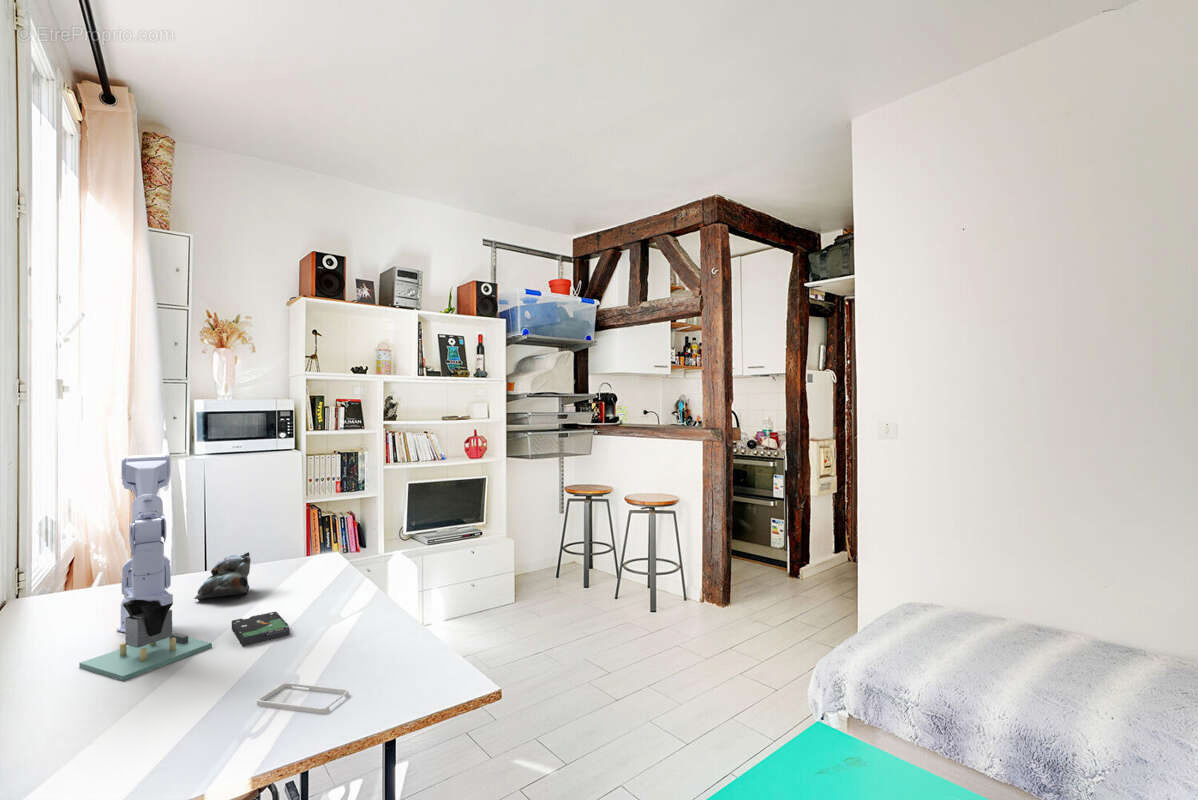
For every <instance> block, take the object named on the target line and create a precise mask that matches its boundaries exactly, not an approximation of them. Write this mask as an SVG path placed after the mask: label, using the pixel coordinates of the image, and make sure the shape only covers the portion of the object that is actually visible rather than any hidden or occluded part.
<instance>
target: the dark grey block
mask: <svg viewBox="0 0 1198 800" xmlns="http://www.w3.org/2000/svg"><path fill="white" fill-rule="evenodd" d="M124 633H125V638H124V639H125V642H124V643H125V645H127V647H128V646H132V647H136V648H139V647H142V646H145V645H148V644H151V643H154V642H157V641H159V640H162V639H165V638H168V637H171V636H172V633H173V610H172V609H171V608H170V609H169V611H168V613H167V615H166V617H165V620H164V624H163V627H162V631H161V633H160V634H157V635H154V636H149V634H148V629H147V621H146V618H145V615H144V613H139V614H136V615H133V616H129V617H126V618H125V632H124Z"/></svg>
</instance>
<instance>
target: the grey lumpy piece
mask: <svg viewBox="0 0 1198 800" xmlns="http://www.w3.org/2000/svg"><path fill="white" fill-rule="evenodd" d="M251 561H252V559H251V557H250V552H246V553H244V554H243V555H241V554H233V555H232V554H231V555H229V556H225V557H224V559H222V560H219V561H218V562H217V563H216V564H215V565H214V566H213V568H212V569H211V570H210V573H211V575H210V576H208V578H207V579H206V580H204V582H203V583H202V585H200V587H199V588H198V590H197V595H195V597H193V598H194V599H195V600H198V601H199V602H200V600H204V599H208V598H213V597H223V596H235V595H237V596H248V594H249V591H250V585H249V580H248V576H249V574H250V571H251V570H250V569H251Z"/></svg>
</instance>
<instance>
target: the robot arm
mask: <svg viewBox="0 0 1198 800" xmlns="http://www.w3.org/2000/svg"><path fill="white" fill-rule="evenodd" d="M170 476H171V455H170V454H168V453H164V454H150V455H149V454H147V455H146V454H144V455H130V456H129V455H128V456H127V455H124V456H123V457H121V480H122V481H121V483H122V486H123V489H126V490H129V491H132V493H133V495H134V498H135V499H133V501H132V503H131V522H130V524H129V536H128V537H129V545H130V551H131V552H130V555H131V557H130V559H128V560H127V561H125V562H124V563H123V565H122V572H121V594H122V595H123V599H122V600H121V603H120V626H119V627H117V628H116V631H117V632H121V633H125V618H126V617H129V616H133V615H136V614H139V613H144V615H145V618H146V621H147V629H148V634H149V636H154V635H157V634H160V633H161V631H162V627H163V624H164V620H165V617H166V615H167V613H168V611H169V609H170V610H171V607H172V606H173V605H174V598H173V596H174V595H173V593H172V594H171V593H170V592H169V591H168V590H169V588H170V587H171V585H172V584H171V583H172V582H171V580H172V579H171V577H172V572H171V565H170V564H171V563H170V562H171V561H170V559H169V557H167V556H165V554H164V553H165V542H166V539H167V521H166V518H165V514H164V508H163V507H164V506H163V500H162V498H161V497H160V496H159V495H158V493H159V490H160V489H162V488H164V487H167V486H168V483H169V482H170ZM162 538H163V541H162ZM167 589H168V590H167Z"/></svg>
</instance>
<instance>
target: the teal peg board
mask: <svg viewBox="0 0 1198 800" xmlns="http://www.w3.org/2000/svg"><path fill="white" fill-rule="evenodd" d="M212 647H213V643H212V642H210V641H205V640H201V639H197V638H194V637H189V635H186V634H182V633H178V632H172V636H171V637H168V638H165V639H162V640H159V641H157V642H154V643H151V644H148V645H145V646H142V647H139V648H136V647H132V646H128V645H125V642H122V643H119V649H117V650H114V651H110V652H107V653H105V654H102V655H99V656H96V657H93V658H90V659H87V660H84V661H82V662H79V664H78V665H79V668H80V669H83V670H85V671H86V670H87V671H88V672H89V671H90V672H93V673H96V674H99V675H103V676H104V677H105V676H106V677H109V678H112V679H115V680H119V681H122V682H124V681H127V680H129V679H133V678H135V677H137V676H141V675H143V674H146V673H147V672H150V671H153V670H156V669H158V668H161V667H163V666H166V665H168V664H171V663H174V662H176V661H178V660H182V659H185V658H187V657H189V656H192V655H194V654H197V653H200V652H202V651H205V650H208V649H210V648H212Z"/></svg>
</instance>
